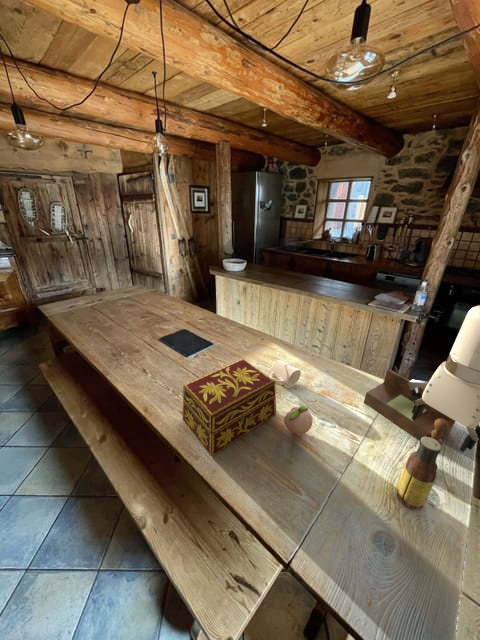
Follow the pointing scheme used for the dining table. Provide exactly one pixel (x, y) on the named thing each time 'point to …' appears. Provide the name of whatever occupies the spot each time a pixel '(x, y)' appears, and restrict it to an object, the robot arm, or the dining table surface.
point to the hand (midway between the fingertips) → (438, 431)
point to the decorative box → (228, 404)
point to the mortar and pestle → (438, 431)
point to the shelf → (404, 407)
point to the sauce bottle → (419, 474)
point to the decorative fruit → (298, 420)
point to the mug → (284, 374)
